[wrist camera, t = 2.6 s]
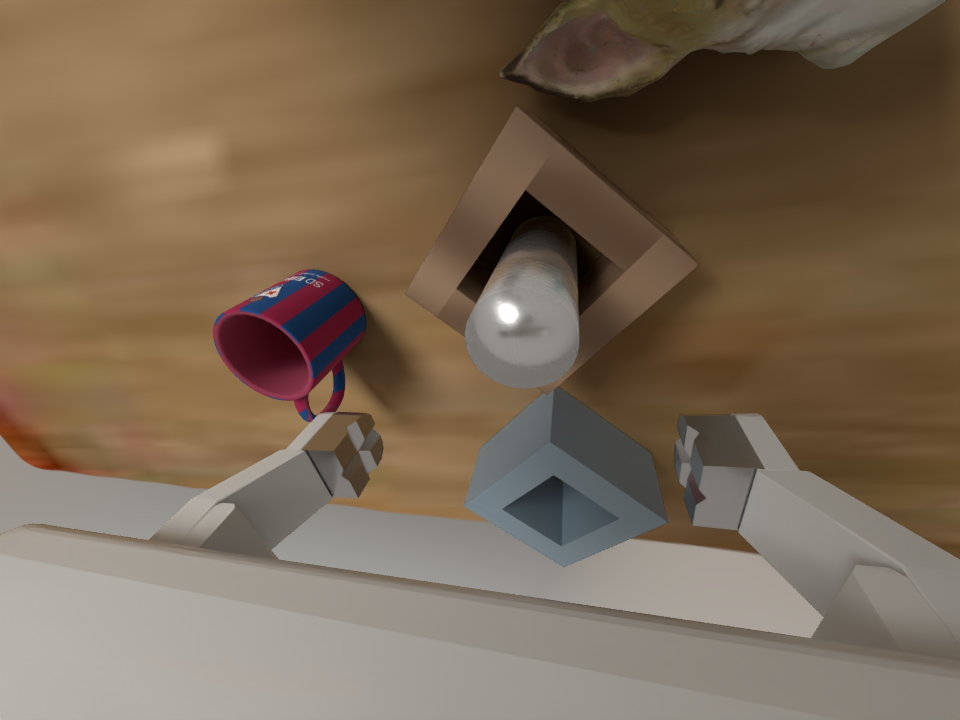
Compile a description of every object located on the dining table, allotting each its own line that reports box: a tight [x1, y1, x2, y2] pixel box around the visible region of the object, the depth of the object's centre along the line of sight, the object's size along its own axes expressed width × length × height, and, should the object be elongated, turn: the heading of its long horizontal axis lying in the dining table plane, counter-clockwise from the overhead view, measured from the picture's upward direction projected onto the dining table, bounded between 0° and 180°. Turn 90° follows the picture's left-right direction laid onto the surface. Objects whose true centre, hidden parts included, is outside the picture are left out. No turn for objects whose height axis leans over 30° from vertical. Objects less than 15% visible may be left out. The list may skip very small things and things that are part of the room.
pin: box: [465, 216, 579, 388], centre depth 17 cm, size 4×4×11 cm
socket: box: [464, 386, 668, 567], centre depth 28 cm, size 10×10×6 cm
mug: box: [213, 270, 366, 422], centre depth 25 cm, size 7×10×7 cm
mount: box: [405, 106, 699, 395], centre depth 19 cm, size 10×10×5 cm
